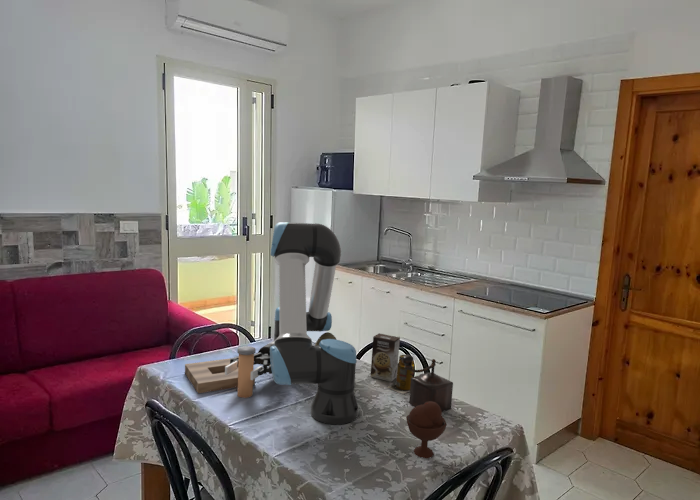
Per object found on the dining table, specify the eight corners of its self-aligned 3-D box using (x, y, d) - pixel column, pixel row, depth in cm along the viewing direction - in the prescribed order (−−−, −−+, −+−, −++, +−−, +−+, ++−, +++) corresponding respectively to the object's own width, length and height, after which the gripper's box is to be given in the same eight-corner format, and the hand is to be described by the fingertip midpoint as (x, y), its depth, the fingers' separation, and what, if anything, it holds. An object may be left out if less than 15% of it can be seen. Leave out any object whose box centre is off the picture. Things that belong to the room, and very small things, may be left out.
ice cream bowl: (438, 443, 140) (442, 393, 138) (447, 464, 129) (452, 410, 127) (401, 441, 139) (405, 391, 138) (407, 463, 128) (411, 409, 127)
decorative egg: (333, 375, 187) (336, 338, 185) (308, 371, 190) (309, 334, 188) (342, 366, 197) (344, 330, 195) (318, 362, 200) (320, 327, 199)
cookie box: (369, 377, 188) (372, 336, 186) (375, 372, 194) (378, 332, 192) (391, 382, 184) (394, 340, 182) (397, 376, 190) (400, 336, 188)
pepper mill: (428, 396, 172) (432, 347, 170) (452, 408, 164) (456, 357, 162) (395, 405, 163) (399, 354, 161) (418, 419, 154) (422, 364, 152)
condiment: (417, 389, 179) (419, 357, 178) (402, 394, 173) (404, 362, 172) (402, 382, 184) (404, 352, 183) (387, 388, 178) (389, 356, 177)
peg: (256, 396, 164) (258, 350, 162) (239, 399, 161) (240, 352, 159) (250, 389, 169) (252, 345, 167) (233, 392, 166) (235, 347, 164)
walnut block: (254, 384, 174) (255, 375, 174) (198, 393, 164) (198, 383, 164) (237, 366, 191) (237, 357, 191) (184, 373, 181) (185, 364, 180)
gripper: (297, 368, 178) (267, 390, 157) (245, 358, 185) (210, 378, 164) (298, 348, 177) (268, 368, 156) (246, 339, 184) (210, 357, 163)
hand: (238, 373), depth 160 cm, fingers open, 9 cm apart
